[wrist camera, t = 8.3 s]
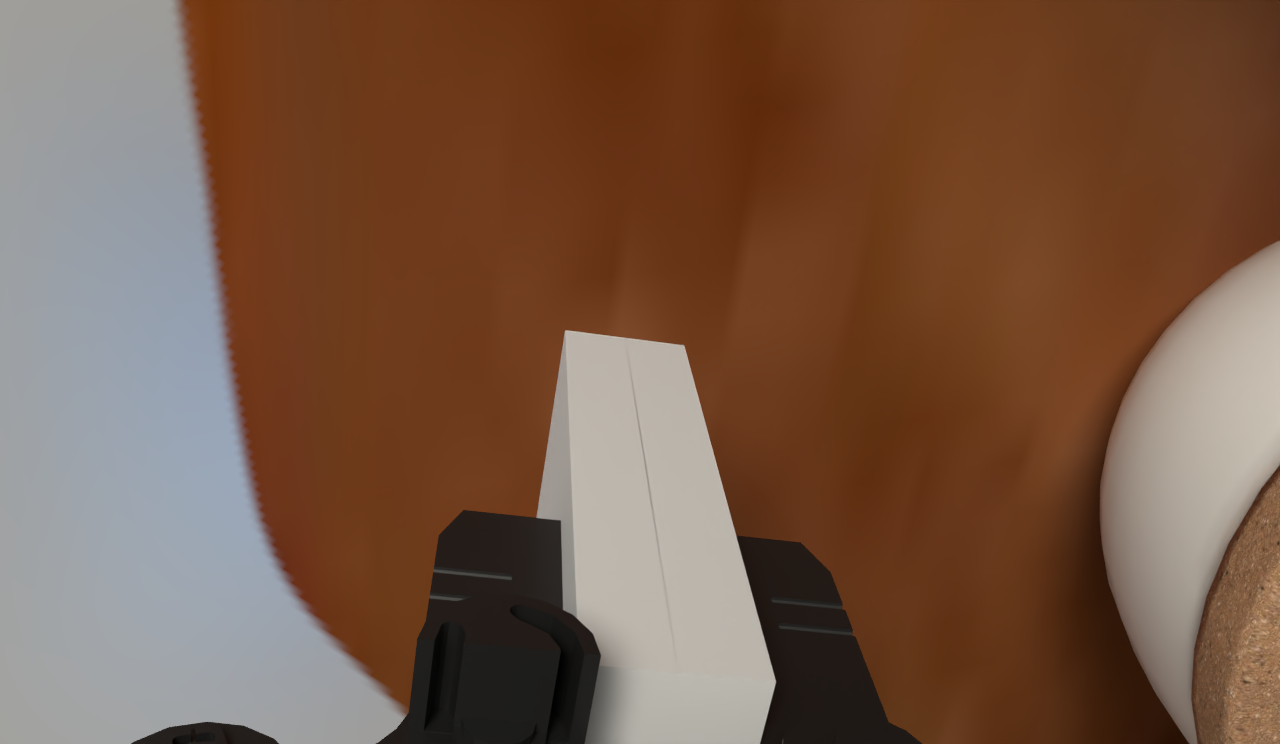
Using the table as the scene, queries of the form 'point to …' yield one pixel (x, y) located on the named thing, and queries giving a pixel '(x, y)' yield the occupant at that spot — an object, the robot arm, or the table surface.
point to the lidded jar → (1204, 510)
